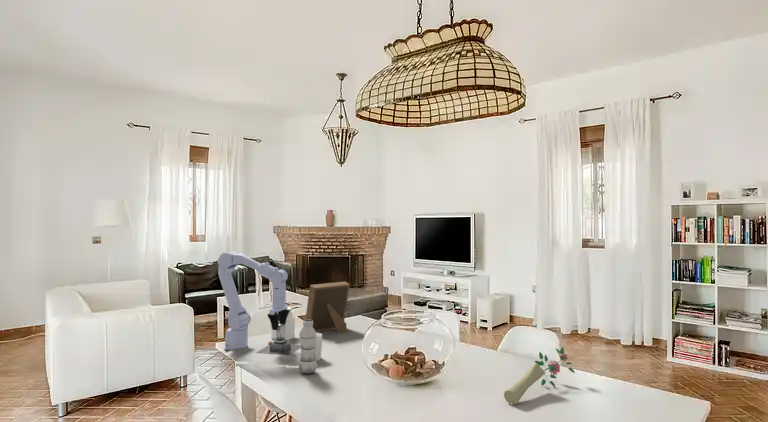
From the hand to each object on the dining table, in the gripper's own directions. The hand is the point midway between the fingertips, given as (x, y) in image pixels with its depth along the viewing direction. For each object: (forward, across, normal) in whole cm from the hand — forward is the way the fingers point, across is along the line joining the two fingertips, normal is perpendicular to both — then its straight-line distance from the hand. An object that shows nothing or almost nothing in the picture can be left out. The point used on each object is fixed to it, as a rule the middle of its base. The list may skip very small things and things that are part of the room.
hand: (278, 327), depth 216 cm
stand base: (+10, 0, -1) cm, 10 cm away
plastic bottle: (+10, -25, -24) cm, 36 cm away
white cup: (+10, -7, -19) cm, 23 cm away
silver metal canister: (+6, 0, -1) cm, 7 cm away
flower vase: (+10, -26, -108) cm, 111 cm away
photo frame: (+10, +40, -10) cm, 43 cm away
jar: (+11, +20, +7) cm, 24 cm away
